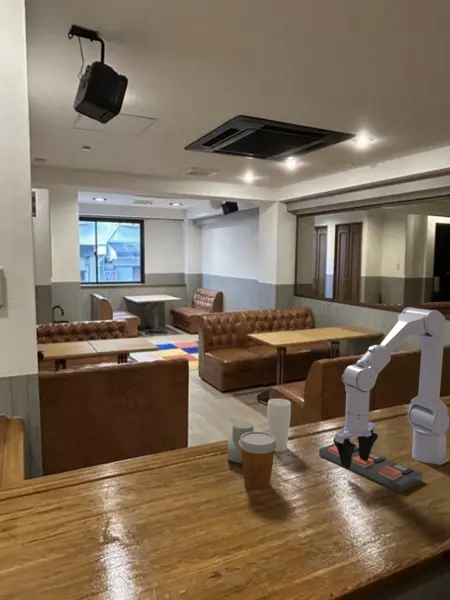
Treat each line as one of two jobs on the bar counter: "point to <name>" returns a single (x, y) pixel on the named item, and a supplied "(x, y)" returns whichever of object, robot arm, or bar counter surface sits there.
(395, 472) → the button
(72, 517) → the bar counter surface
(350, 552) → the bar counter surface
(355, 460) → the button
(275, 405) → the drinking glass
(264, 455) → the disposable coffee cup
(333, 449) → the button
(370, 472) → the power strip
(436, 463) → the robot arm
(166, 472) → the bar counter surface
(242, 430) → the air freshener
